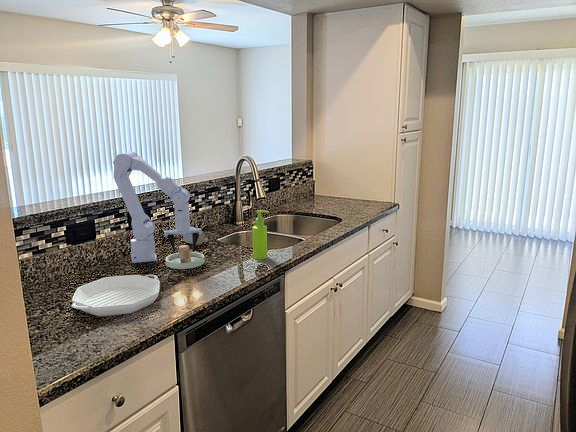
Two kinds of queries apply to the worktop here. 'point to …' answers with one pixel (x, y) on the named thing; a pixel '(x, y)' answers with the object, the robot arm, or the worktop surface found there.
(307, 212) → the worktop surface
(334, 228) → the worktop surface
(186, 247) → the peach rounded oval piece
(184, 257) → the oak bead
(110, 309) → the pan
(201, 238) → the ceramic mug
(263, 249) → the soap dispenser
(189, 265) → the groove tray
